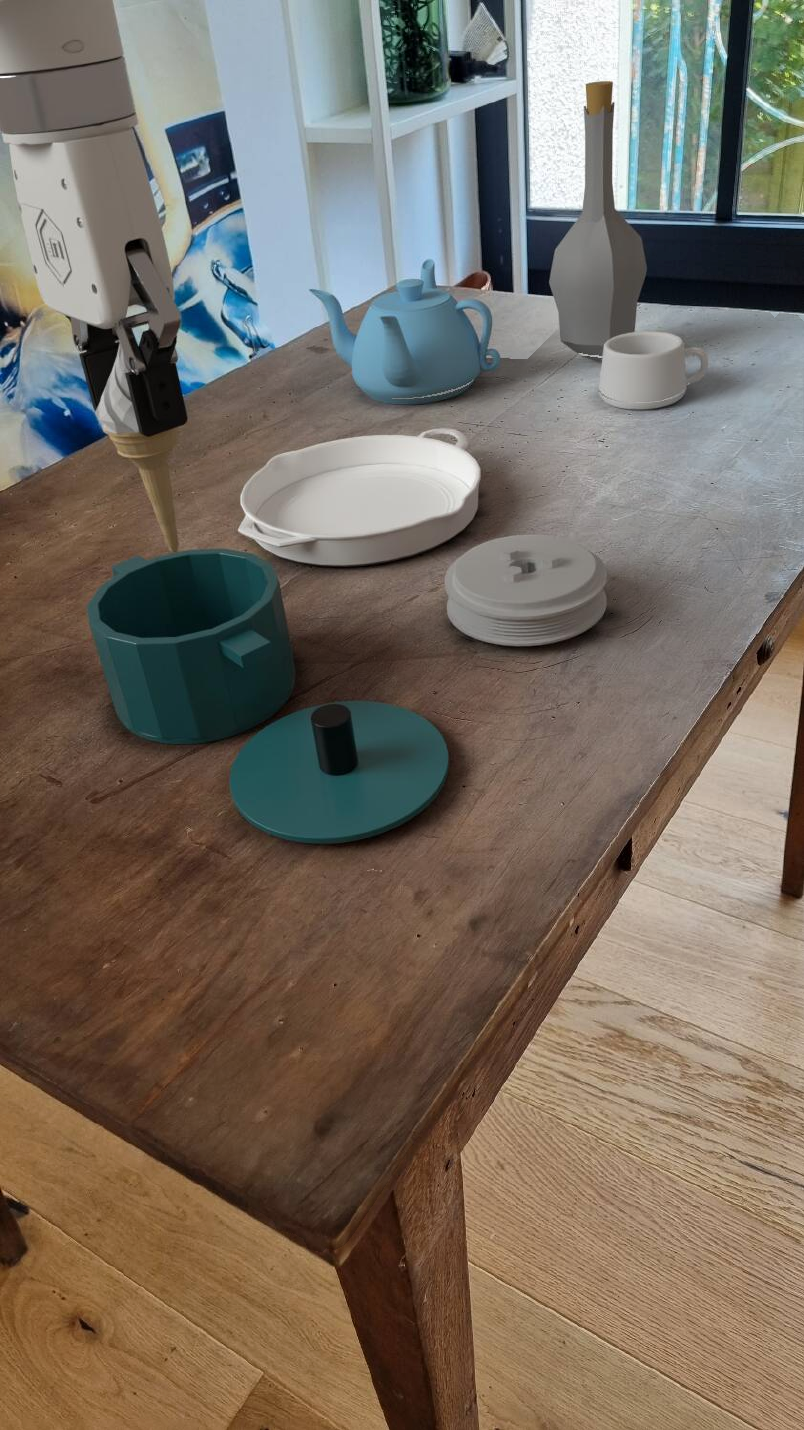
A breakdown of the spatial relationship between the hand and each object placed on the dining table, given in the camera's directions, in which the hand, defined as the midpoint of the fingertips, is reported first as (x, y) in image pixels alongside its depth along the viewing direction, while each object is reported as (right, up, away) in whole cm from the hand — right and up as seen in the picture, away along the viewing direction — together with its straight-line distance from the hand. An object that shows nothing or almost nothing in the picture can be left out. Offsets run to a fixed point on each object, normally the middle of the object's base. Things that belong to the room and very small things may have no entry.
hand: (140, 415), depth 72 cm
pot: (+2, -18, +12) cm, 22 cm away
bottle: (+41, +24, +64) cm, 80 cm away
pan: (+14, 0, +35) cm, 38 cm away
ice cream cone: (+1, -8, +6) cm, 10 cm away
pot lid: (+13, -23, +2) cm, 26 cm away
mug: (+45, +17, +53) cm, 72 cm away
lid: (+27, -11, +17) cm, 34 cm away
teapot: (+18, +21, +64) cm, 70 cm away
